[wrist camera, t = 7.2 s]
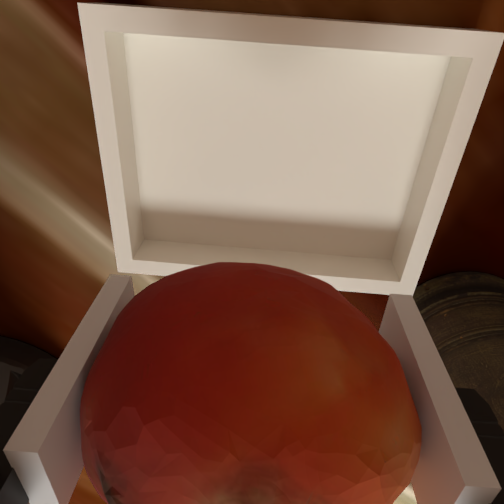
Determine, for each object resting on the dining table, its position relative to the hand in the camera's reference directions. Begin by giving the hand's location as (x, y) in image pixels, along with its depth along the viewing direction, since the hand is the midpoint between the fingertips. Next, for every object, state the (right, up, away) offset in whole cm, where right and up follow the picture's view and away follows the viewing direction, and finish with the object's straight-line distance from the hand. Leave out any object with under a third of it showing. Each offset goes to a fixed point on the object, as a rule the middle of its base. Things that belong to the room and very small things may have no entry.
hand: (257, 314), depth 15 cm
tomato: (0, 0, +1) cm, 1 cm away
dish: (+1, +8, +8) cm, 11 cm away
